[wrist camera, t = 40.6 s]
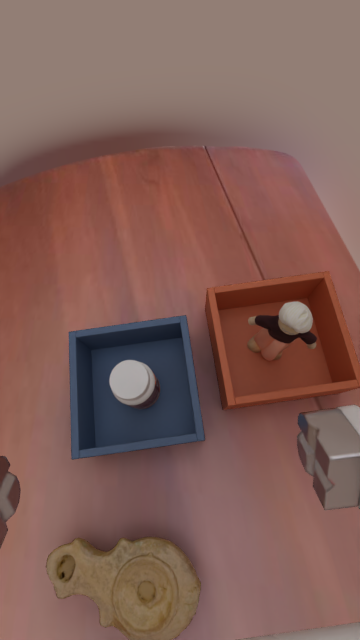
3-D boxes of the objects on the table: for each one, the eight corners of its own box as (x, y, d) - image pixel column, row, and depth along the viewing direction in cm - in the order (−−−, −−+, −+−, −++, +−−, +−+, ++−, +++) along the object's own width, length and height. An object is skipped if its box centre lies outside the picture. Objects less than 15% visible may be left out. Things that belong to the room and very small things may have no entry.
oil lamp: (57, 538, 36) (36, 554, 31) (180, 497, 37) (178, 507, 32) (75, 657, 33) (55, 695, 28) (210, 608, 33) (213, 637, 29)
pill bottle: (168, 386, 40) (162, 375, 33) (143, 417, 39) (130, 413, 31) (139, 363, 42) (127, 346, 34) (115, 392, 40) (95, 382, 33)
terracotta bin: (310, 293, 44) (329, 270, 38) (339, 393, 40) (366, 385, 34) (205, 308, 44) (206, 287, 38) (222, 410, 40) (228, 405, 34)
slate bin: (187, 332, 43) (186, 315, 37) (203, 439, 39) (205, 440, 33) (86, 346, 43) (68, 331, 37) (90, 455, 39) (71, 459, 33)
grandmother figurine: (237, 355, 41) (255, 324, 29) (242, 327, 43) (261, 286, 31) (298, 369, 41) (342, 342, 29) (301, 340, 42) (345, 302, 30)
